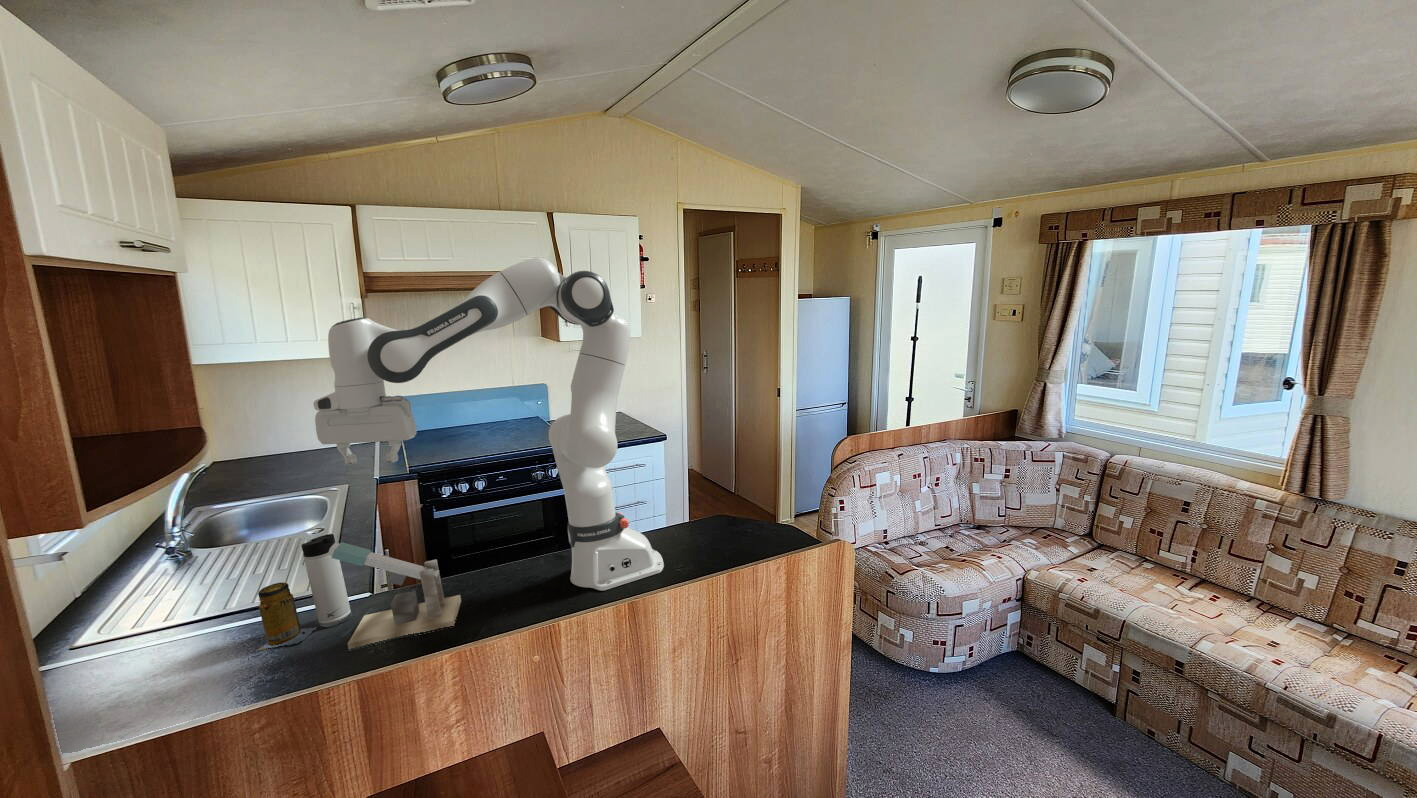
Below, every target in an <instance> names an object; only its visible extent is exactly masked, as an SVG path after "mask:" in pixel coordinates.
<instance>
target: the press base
mask: <svg viewBox="0 0 1417 798" xmlns="http://www.w3.org/2000/svg"><path fill="white" fill-rule="evenodd" d="M438 563H439V562H438V560H437V559H432V560H427V561H424V562H423V565H424V567H427V568H431V569H428V570H423V571H421V572H420V577H421V580H420V581H421V587H422V591H423V598H424V602H419V601H418V597H417V591H416V590H412V591H408V592H401V593H398V594H395V595H394V597H393V599H392V601H391V602H390V609H389V610H382V611H378V612H374V613H370V614H364V615H363V617H362V618H361V620H360V622H359V624H358V625H357V627H356V629H355V630H354V632H353V634H352V636H351V638H350V639H349V640H348V642H347V648H348V650H349V649H351V648H355V647H359V646H364V645H366V644H370V643H375V642H379V641H383V640H387V639H391V638H395V637H399V636H403V635H408V634H413V633H414V634H415V633H420V632H426V631H430V630H435V629H438V628H444V627H450V626H454V627H455V625H456V624H455V623H456V621H457V618H456V617H458V613H459V610H460V607H461V603H462V598H461V594H458V595H453V596H449V597H448V596H447V597H445V596H444V595H445V594H444V590H443V585H442V580H441V575H440V573H439V574H438V577H437V579H436V581H435V577H434V571H433V569H435V570H439V568H440V567H439V565H438ZM439 571H440V570H439ZM455 620H456V621H455ZM454 624H455V625H454ZM450 628H451V627H450Z"/></svg>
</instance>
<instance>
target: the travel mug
mask: <svg viewBox="0 0 1417 798" xmlns="http://www.w3.org/2000/svg"><path fill="white" fill-rule="evenodd" d="M335 542H336V539H335V534H334V533H329V534H324V535H320V536H318V537H314V538H312V539H310V540H309V541H307V542H305V543H302V544H301V550H302V552H303V561H304V563H305V568H306V569H305V570H306V573H307V577H308V583H309V585H310V586H309V587H310V591H311V595H312V599H313V603H314V608H315V612H316V617H317V621H318V625H319V624H320V625H328V624H332V623H336V622H338V621H341V620H342V619H344V618H345V617H347V616H348V615H349V614H350V613H351V614H352V610H351V605H350V602H349V596H348V593H347V587H346V583H345V579H344V574H343V571H342V570H343V569H342V565H341V560H337V559H333V558H332V556H330V555H328V552H329V550H330V548H331V546H332V545H333V544H334V543H335Z"/></svg>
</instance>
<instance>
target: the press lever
mask: <svg viewBox="0 0 1417 798" xmlns="http://www.w3.org/2000/svg"><path fill="white" fill-rule="evenodd" d="M328 555H330V556H332V558H333V559H337V560H340V562H346V563H348V564H353V565H355V566H361V567H363V566H364V565H365V566H367V567H372V568H375V569H376V568H377V569H380V570H383V571H386V572H389V573H390V574H389V576H388V578H387V580H386V583H389V584H393V585H396V586H397V585H398V586H400V587H402V586H403V584H404V582H405V580H406V577H410V578H413V579H417V580H420V581H421V577H420V572H421V571H423V570H428V569H431V568H427V567H425V566H423V565H419V564H416V563H412V562H408V561H406V560H401V559H398V558H393V557H391V556H386V555H383V554H379V553H376V552H372V550H371V549H368V548H366V547H360V546H357V545H354V544H351V543H350V544H349V543H346V542H342V541H341V542H340V543H339V542H336V541H335V543H334V544H333V545H332V546H331V548H330V550H329V552H328ZM433 571H434V577H435V581H436V579H437V577H438V574H440V570H435V569H433Z"/></svg>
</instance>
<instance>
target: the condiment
mask: <svg viewBox="0 0 1417 798" xmlns="http://www.w3.org/2000/svg"><path fill="white" fill-rule="evenodd" d="M257 594H258V598H259V599H258V600H259V604H258V609H259V613H260V618H261V622H262V626H263V631H264V633H265V638H266V642H268V645H271V646H273V645H279V644H282V643H284V642H287V641H289V640H291V639H293V638H295V637H296V636H297V635H298V634H299V633H300V631H301V629H302V627H301V624H300V621H299V620H300V618H299V616H298V612H297V606H296V603H295V599H294V595H293V594H292V593H291V590H290V588H289V584H288V583H287V582H285V581H284V582H283V581H282V582H276V583H272V584H270V585H267V586H265V587H262V588H261V589H260V590H259V591H258V593H257ZM261 650H263V651H264V650H269V649H268V648H267V649H266V648H264V646H263V645H261V647H259V648H258V649H257V651H261Z"/></svg>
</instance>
